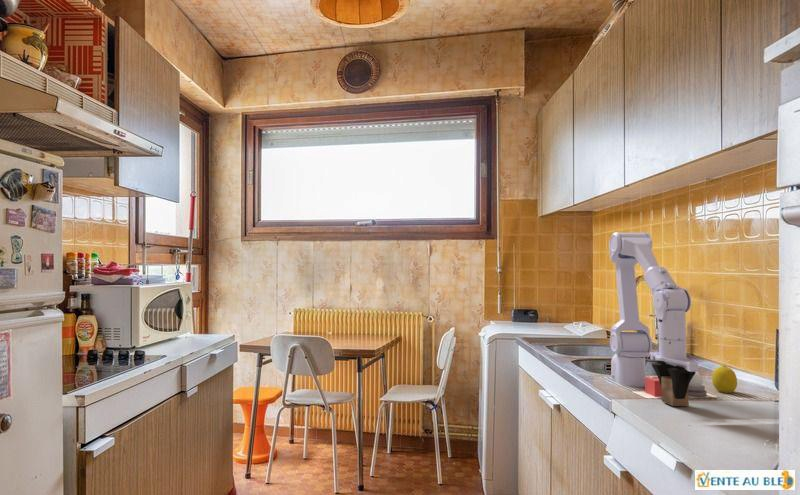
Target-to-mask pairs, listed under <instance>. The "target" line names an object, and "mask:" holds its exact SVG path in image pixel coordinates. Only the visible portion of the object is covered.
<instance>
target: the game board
mask: <svg viewBox="0 0 800 495" xmlns="http://www.w3.org/2000/svg"><path fill="white" fill-rule="evenodd" d="M631 392H632V393H634V394H636V395H638V396H641V397H642V398H645V399H662V397H655V396H652V395H650V394H648V393H645V390H644V391H643V390H641V391H640V390H637V391H631ZM690 398H691V399H693V398H695V399H696V398H697V399H698V398H717V395H714V394H711V393H708V392H707V390H705V391H704V392H693V391H689V399H690Z"/></svg>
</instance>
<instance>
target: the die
mask: <svg viewBox="0 0 800 495" xmlns="http://www.w3.org/2000/svg"><path fill="white" fill-rule="evenodd" d="M644 388H645V390H644V391H645V393H648V394H650V395H652V396H655V397H662V389H661V385H660V382H659V379H658V376H646V377H645V386H644Z"/></svg>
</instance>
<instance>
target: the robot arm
mask: <svg viewBox="0 0 800 495" xmlns="http://www.w3.org/2000/svg"><path fill="white" fill-rule="evenodd" d="M608 249H609V250H608V251H609V258H610V259H609V260H610V262H611V263H613V264H614V265H615V275H616V277H615V278H616V287H617V289H616V290H617V300H618V309H619V310H618V311H619V312H618V314H619V321H617V322H616V323H615V324H613V325H612V326H611V327H610V337H609V346H610V348H611V350H612V353H614V355H613V356H612V357H611V360H610V368H611V369H610V370H611V371H610V372H611V380H612V381H614V382H616V383H618V384H619V385H623V386H627V387H633V388H635V387H636V388H640V387H642V388H643V387H645V377H647V376H646V357H649V358H650V360H651V361H657V362H655V363H651V366H652V368H653V369H654V371H655V374H656V375H657V376H656V377H658V379H659V382H660V385H661V376H671V379H672V383H673V391H674V396H675V398H676V399H685V396H686V392H687V389H688V386H689V383H690V381H691V379H692V377H693V376H694V375H695V373H696V372H697V373H699V362H696V361H693V360H691V359H689V358H688V357H687V328H686V326H687V325H686V323H687V322H686V321H687V320H686V318H687V317H686V313H687V312H689V311H690V308H691V307H692V306H691V305H692V300H691V296H690V293H689V291H688V290H687V289H686V288H684V287H683V288H682V286H679V285H677V283H676V282H675V281H674V279H673V277H672V276H671V274H670V272H669V271H668V269H667V268H665V267H664V266H660V264H659V263H658V261H657V258H656V257H655V254H654V253H653V252H654V251H652V250H653V239H652V236H651V235H650V234H649V233H648V232H647V231H645V232H618V231H616V232H615V231H614V232H613V233H612V234H611V236H610V238H609V242H608ZM636 264H639V266H640V267H641V268H642V270H643V272H645V273H644V275H643V279H644V282H645V283H646V285H647V286H648V289H649V290H650V292H651V294H652V295H653V299H652V306H653V308H654V310H655V319H657V320H658V321H657V325H658V326H657V327H658V351H652V350H653V339H652V336H651V335H650V329H649V327H648V326H647V325H646V324H645V323H643V322H642V321H640V314H639V305H638V294H637V293H638V291H637V284H636V283H637V282H636V272H635V266H636ZM649 354H650V356H648V355H649ZM661 389H662V385H661Z"/></svg>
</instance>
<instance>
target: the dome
mask: <svg viewBox="0 0 800 495" xmlns="http://www.w3.org/2000/svg"><path fill="white" fill-rule="evenodd" d="M703 382H704V380H703V377H702V375H701V374H700V372H696V373H695V375H694V376H693V377H692V379H691V381H690V383H689V386H688V390H689V391H693V392H704V391H706V388H705V386H704V385H703Z"/></svg>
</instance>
